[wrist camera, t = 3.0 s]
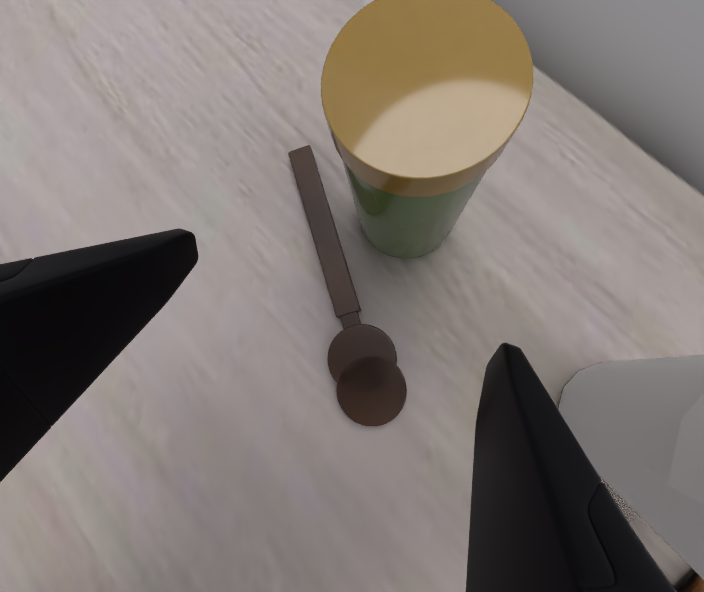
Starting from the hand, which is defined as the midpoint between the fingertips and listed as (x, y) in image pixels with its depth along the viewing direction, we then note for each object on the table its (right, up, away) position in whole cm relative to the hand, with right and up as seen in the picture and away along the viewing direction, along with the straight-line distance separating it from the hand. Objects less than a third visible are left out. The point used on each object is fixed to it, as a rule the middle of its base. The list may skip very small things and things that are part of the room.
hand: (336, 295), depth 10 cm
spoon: (-1, +2, +14) cm, 14 cm away
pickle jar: (+4, +6, +14) cm, 16 cm away
